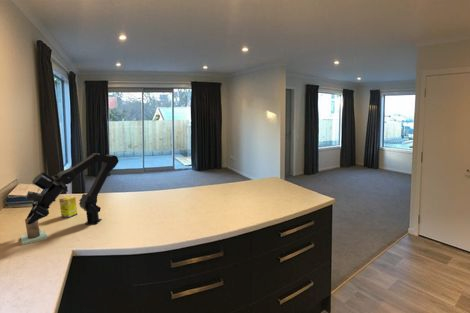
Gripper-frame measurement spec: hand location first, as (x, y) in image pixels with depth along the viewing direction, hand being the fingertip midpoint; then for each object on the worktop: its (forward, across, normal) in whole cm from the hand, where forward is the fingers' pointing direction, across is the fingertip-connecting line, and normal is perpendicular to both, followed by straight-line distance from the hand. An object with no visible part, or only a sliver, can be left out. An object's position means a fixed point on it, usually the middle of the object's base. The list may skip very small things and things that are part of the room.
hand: (27, 221), depth 147 cm
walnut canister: (+5, 0, +7) cm, 8 cm away
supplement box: (-7, -24, +20) cm, 32 cm away
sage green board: (+5, 0, +7) cm, 9 cm away
